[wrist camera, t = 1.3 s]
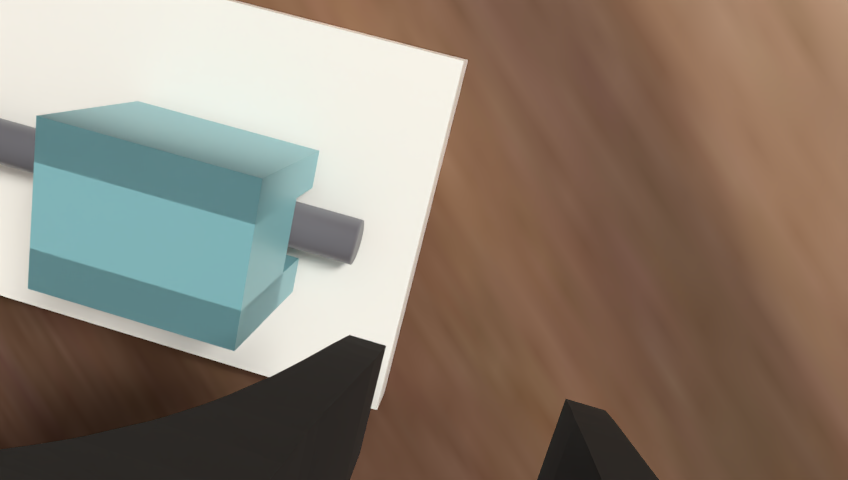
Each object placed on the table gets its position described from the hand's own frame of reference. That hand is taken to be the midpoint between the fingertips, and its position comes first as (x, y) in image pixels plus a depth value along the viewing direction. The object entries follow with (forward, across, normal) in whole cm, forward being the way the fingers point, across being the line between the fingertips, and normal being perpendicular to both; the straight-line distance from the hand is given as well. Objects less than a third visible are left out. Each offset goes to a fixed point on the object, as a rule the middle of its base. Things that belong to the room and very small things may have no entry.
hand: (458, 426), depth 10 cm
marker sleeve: (+7, +7, 0) cm, 10 cm away
